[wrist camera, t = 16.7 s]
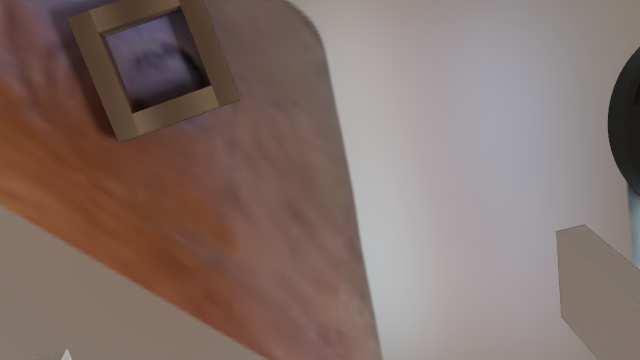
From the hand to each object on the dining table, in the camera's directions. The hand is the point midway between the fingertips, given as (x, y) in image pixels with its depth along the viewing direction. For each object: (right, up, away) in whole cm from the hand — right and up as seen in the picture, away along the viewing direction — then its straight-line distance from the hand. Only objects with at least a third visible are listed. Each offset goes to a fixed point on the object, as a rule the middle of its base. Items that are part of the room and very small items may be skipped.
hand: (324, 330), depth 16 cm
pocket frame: (-11, +12, +25) cm, 30 cm away
